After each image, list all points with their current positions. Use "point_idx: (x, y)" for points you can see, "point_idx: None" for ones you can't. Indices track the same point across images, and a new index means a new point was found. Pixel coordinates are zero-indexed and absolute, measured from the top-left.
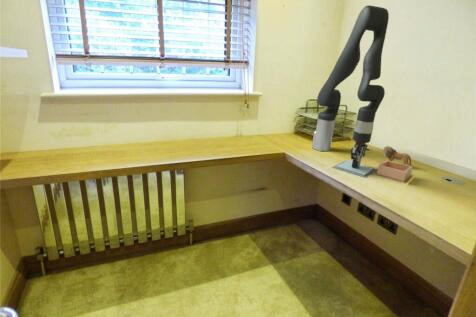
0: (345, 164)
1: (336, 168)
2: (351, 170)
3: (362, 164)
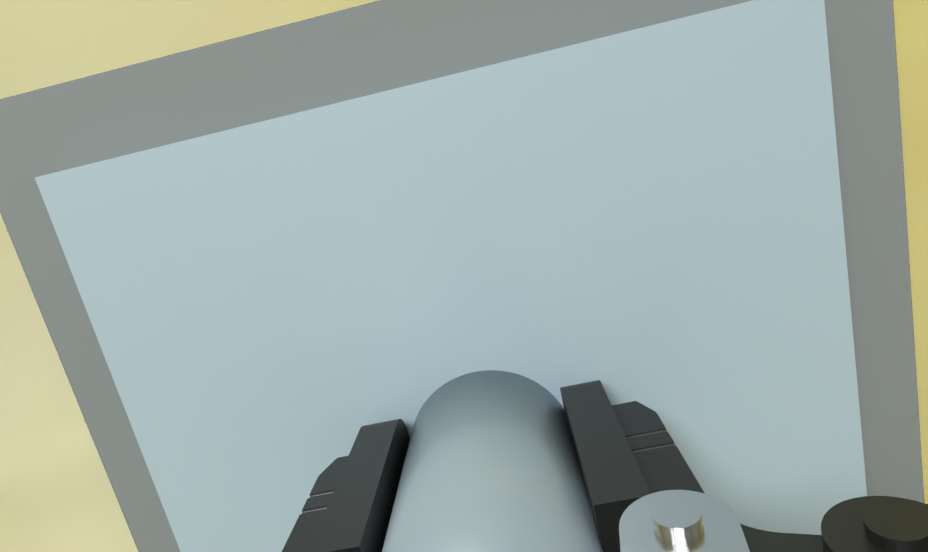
0: (398, 211)
1: (42, 217)
2: (185, 536)
3: (849, 424)
